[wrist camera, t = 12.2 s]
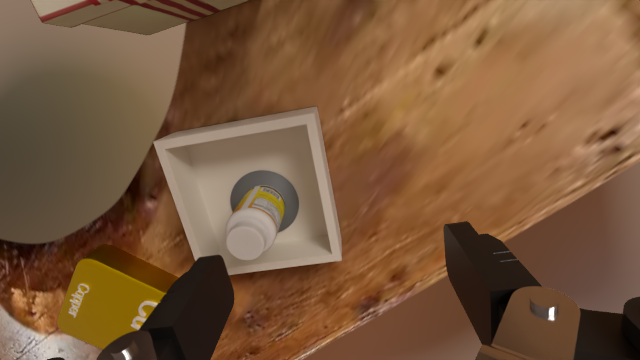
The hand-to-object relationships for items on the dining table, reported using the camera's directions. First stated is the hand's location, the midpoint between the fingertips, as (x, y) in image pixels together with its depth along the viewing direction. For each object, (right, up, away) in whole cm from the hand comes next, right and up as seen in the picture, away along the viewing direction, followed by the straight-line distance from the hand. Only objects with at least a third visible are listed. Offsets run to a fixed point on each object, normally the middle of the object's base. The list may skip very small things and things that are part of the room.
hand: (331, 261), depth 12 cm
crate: (-8, +2, +32) cm, 33 cm away
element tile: (-29, -15, +40) cm, 52 cm away
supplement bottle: (-7, 0, +32) cm, 33 cm away
